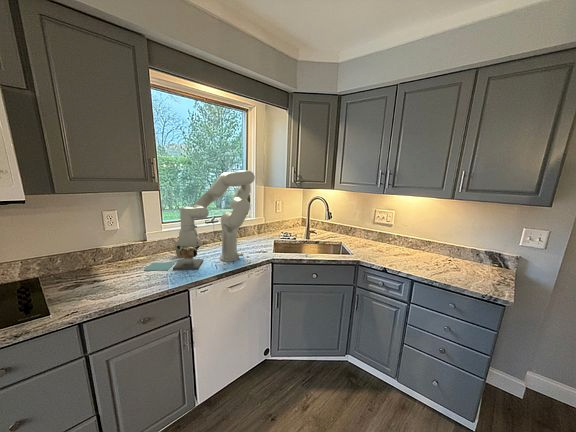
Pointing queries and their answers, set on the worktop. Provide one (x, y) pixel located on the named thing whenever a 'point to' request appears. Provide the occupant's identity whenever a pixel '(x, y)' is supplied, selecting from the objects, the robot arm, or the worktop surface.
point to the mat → (159, 266)
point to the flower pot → (178, 251)
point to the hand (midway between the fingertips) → (188, 256)
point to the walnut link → (187, 253)
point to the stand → (188, 263)
